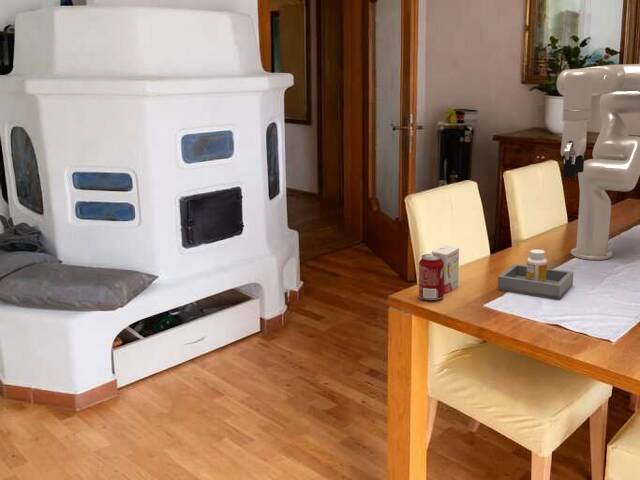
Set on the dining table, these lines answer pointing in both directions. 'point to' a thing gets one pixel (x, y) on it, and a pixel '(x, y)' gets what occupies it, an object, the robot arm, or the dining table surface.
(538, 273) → the pill bottle
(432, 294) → the soda can
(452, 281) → the ink box
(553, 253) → the dining table surface
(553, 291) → the tray
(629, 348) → the dining table surface
